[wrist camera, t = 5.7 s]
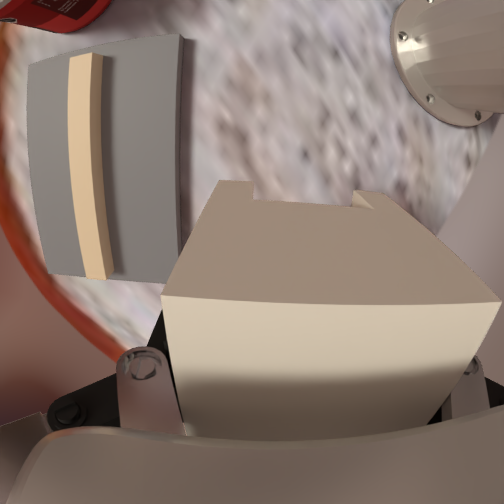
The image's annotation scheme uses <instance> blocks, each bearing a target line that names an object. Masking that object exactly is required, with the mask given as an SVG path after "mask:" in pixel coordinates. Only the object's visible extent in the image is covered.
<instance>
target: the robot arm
mask: <svg viewBox="0 0 504 504" xmlns="http://www.w3.org/2000/svg"><path fill="white" fill-rule="evenodd" d="M399 36H400V38H401V39H400V38H399ZM390 44H391V52H392V55H393V59H394V62H395V66H396V68H397V70H398V72H399V75H400V77H401V79H402V81H403V82H404V84H405V86H406V87H407V89H408V91H409V92H410V93H411V95H412V96H413V97H414V98H415V100H416V101H417V102H418V103H419V104H420V105H421V106H422V107H423V108H424V109H425V110H426V111H427V112H429V113H430V114H432V115H433V116H435V117H436V118H438V119H439V120H442V121H444V122H446V123H449V124H453V125H458V126H468V127H469V126H475V125H479V124H481V123H483V122H485V121H486V120H487V119H488V118H490V117H491V116H492V115H493V113H501V114H504V0H405V1H404V2H402V3H401V4H400V5H399V6H398V8H397V10H396V11H395V13H394V15H393V18H392V22H391V26H390ZM426 97H427V99H426ZM183 422H184V421H183V417H182V413H181V408H180V404H179V399H178V394H177V390H176V385H175V380H174V375H173V370H172V364H171V359H170V353H169V347H168V342H167V335H166V329H165V323H164V316H163V309H162V311H161V313H160V315H159V318H158V320H157V322H156V325H155V327H154V330H153V332H152V334H151V337H150V339H149V342H148V344H147V346H145V347H136V348H132V349H130V350H128V351H126V352H125V353H123V354H122V355H121V356H120V358H119V359H118V361H117V365H116V373H115V374H113V375H111V376H109V377H106V378H104V379H102V380H100V381H97V382H95V383H93V384H91V385H88V386H86V387H83V388H81V389H79V390H76V391H74V392H72V393H69V394H67V395H65V396H62V397H60V398H58V399H57V400H55V401H54V402H53V403H52V404H51V405H50V407H49V409H48V412H47V413H46V414H44V415H42V414H41V413H40V412H38V413H36V414H33V415H30V416H28V417H25V418H22V419H20V420H17V421H14V422H11V423H8V424H5V425H3V426H0V504H504V387H503V386H502V385H500V384H498V383H496V382H494V381H492V380H490V379H488V378H486V377H484V372H483V368H482V365H481V362H480V360H479V359H478V357H477V356H475V355H474V357H473V358H472V360H471V362H470V363H469V365H468V367H467V368H466V370H465V371H464V373H463V375H462V376H461V378H460V379H459V381H458V382H457V384H456V385H455V387H454V388H453V390H452V391H451V392H450V394H449V395H448V397H447V398H446V400H445V401H444V402H443V404H442V405H441V406H440V408H439V409H438V410H437V412H436V413H435V414H434V416H433V417H432V418H431V419H430V421H429V422H428V423H427V424H426V426H421V427H416V428H411V429H406V430H400V431H394V432H388V433H382V434H375V435H367V436H359V437H349V438H338V439H325V440H305V441H248V440H229V439H216V438H204V437H193V436H186V433H185V430H184V426H183Z"/></svg>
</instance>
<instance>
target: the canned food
mask: <svg viewBox="0 0 504 504" xmlns="http://www.w3.org/2000/svg"><path fill="white" fill-rule="evenodd" d="M111 1H112V0H0V21H2V22H8V23H13V24H18V25H23V26H28V27H32V28H37V29H41V30H45V31H49V32H53V33H66V32H72V31H76V30H79V29H81V28H83V27H85V26H87V25H88V24H90V23H91V22H93V21H94V20H95V19H96V18H98V17H99V16H100V15H101V14H102V13H103V12H104V11H105V9H106V8H107V7H108V6H109V4H110V3H111Z"/></svg>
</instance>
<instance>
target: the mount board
mask: <svg viewBox="0 0 504 504" xmlns="http://www.w3.org/2000/svg"><path fill="white" fill-rule="evenodd" d="M183 46H184V38H183V36H182V35H181V34H180V33H179V34H168V35H158V36H150V37H142V38H135V39H129V40H123V41H117V42H112V43H107V44H102V45H97V46H92V47H88V48H84V49H80V50H76V51H72V52H68V53H65V54H61V55H58V56H55V57H51V58H48V59H45V60H42V61H39V62H36V63H33V64H30V65H29V67H28V82H27V141H28V156H29V168H30V178H31V186H32V194H33V201H34V207H35V213H36V219H37V225H38V230H39V235H40V240H41V244H42V249H43V253H44V258H45V262H46V266H47V270H48V273H50V274H59V275H69V276H79V277H86V278H87V279H97V280H107V279H112V280H123V281H136V282H149V283H162V284H166V283H167V281H168V278H169V276H170V274H171V272H172V270H173V268H174V266H175V264H176V262H177V260H178V258H179V256H180V254H181V252H182V239H181V213H180V104H181V79H182V61H183Z"/></svg>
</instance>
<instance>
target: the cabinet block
mask: <svg viewBox="0 0 504 504" xmlns="http://www.w3.org/2000/svg"><path fill="white" fill-rule="evenodd" d="M253 189H254V182H252V181H231V180H219V182H218V183H217V185H216V187H215V189H214V191H213V193H212V194H211V196H210V198H209V200H208V202H207V204H206V206H205V207H204V209H203V211H202V213H201V215H200V217H199V219H198V221H197V223H196V225H195V227H194V228H193V230H192V232H191V234H190V236H189V238H188V240H187V242H186V244H185V246H184V248H183V250H182V252H181V254H180V256H179V258H178V260H177V262H176V264H175V266H174V268H173V270H172V272H171V274H170V276H169V278H168V281H167V283H166V285H165V287H164V289H163V291H162V293H161V302H162V309H163V316H164V323H165V329H166V335H167V342H168V347H169V353H170V359H171V364H172V370H173V375H174V380H175V385H176V390H177V394H178V399H179V404H180V408H181V413H182V417H183V421H184V425H185V429H186V434H187V436H193V437H204V438H216V439H229V440H248V441H305V440H325V439H338V438H349V437H359V436H367V435H375V434H382V433H388V432H394V431H400V430H406V429H411V428H416V427H421V426H426V424H427V423H428V422H429V421H430V419H431V418H432V417H433V416H434V414H435V413H436V412H437V410H438V409H439V408H440V406H441V405H442V404H443V402H444V401H445V400H446V398H447V397H448V395H449V394H450V392H451V391H452V390H453V388H454V387H455V385H456V384H457V382H458V381H459V379H460V378H461V376H462V375H463V373H464V371H465V370H466V368H467V367H468V365H469V363H470V362H471V360H472V358H473V357H474V355H475V353H476V351H477V350H478V348H479V346H480V345H481V343H482V341H483V339H484V337H485V336H486V333H487V332H488V330H489V328H490V326H491V324H492V322H493V320H494V318H495V316H496V314H497V312H498V310H499V308H500V306H501V303H502V301H501V300H500V299H499V298H498V297H497V296H496V294H495V293H494V292H493V291H492V290H491V289H490V288H489V287H488V286H487V285H486V284H485V283H484V282H483V281H482V280H481V279H480V278H479V277H478V276H477V275H476V274H475V273H474V272H473V271H472V270H471V269H470V268H469V267H468V266H467V265H466V264H465V263H464V262H463V261H462V260H461V259H460V258H459V257H458V256H457V255H456V254H455V253H453V252H452V251H451V250H450V249H449V248H448V247H447V246H446V245H445V244H444V243H443V242H441V241H440V240H439V239H438V238H437V237H436V236H435V235H434V234H432V233H431V232H430V231H429V230H428V229H427V228H426V227H424V226H423V225H422V224H421V223H420V222H418V221H417V220H416V219H415V218H414V217H412V216H411V215H410V214H409V213H408V212H406V211H405V210H404V209H403V208H401V207H400V206H399V205H398V204H396V203H395V202H394V201H393V200H391V199H390V198H389V197H388V196H386V195H385V194H384V193H377V192H369V191H360V190H354V192H353V198H352V205H351V207H347V206H336V205H324V204H312V203H299V202H284V201H269V200H253Z"/></svg>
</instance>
